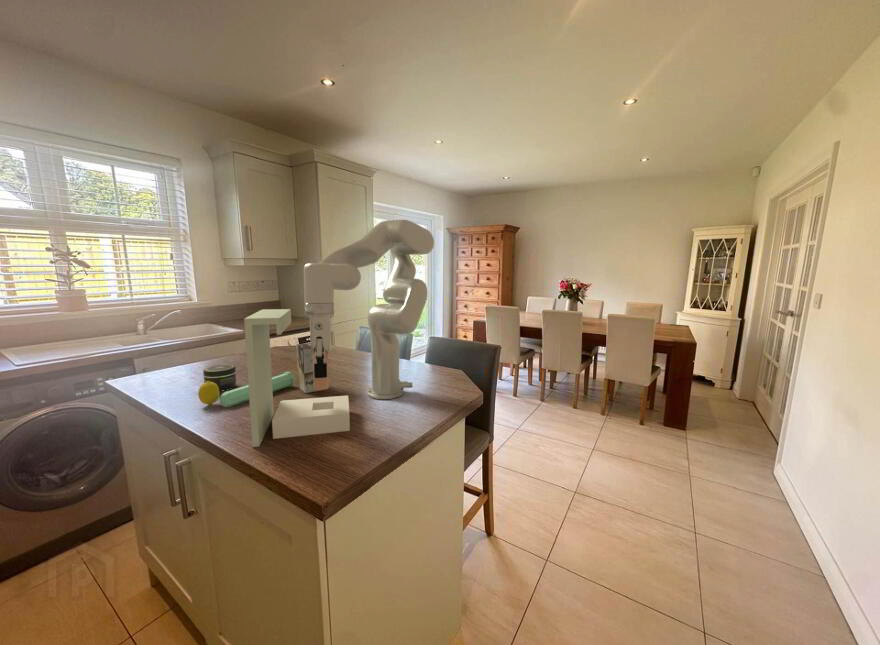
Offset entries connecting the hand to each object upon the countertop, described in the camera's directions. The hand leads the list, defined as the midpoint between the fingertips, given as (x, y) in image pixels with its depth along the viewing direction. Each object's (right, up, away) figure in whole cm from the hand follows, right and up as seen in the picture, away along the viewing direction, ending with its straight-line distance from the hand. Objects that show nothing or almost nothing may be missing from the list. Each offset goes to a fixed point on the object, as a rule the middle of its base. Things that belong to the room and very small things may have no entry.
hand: (321, 374), depth 97 cm
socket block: (-2, -14, +2) cm, 14 cm away
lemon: (-40, -12, +14) cm, 44 cm away
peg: (0, -4, 0) cm, 4 cm away
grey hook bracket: (-12, -14, -2) cm, 19 cm away
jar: (-47, -10, +30) cm, 56 cm away
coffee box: (-15, -10, +31) cm, 36 cm away
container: (-29, -11, +23) cm, 39 cm away
